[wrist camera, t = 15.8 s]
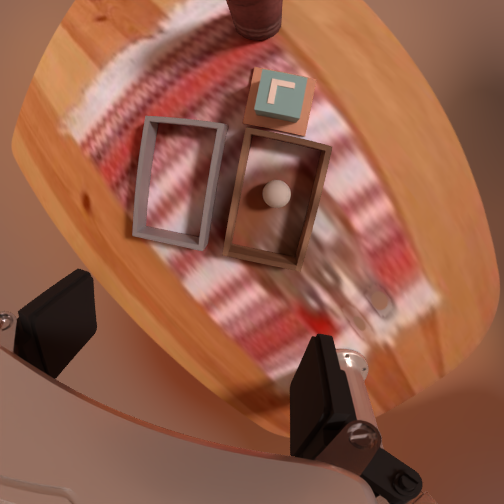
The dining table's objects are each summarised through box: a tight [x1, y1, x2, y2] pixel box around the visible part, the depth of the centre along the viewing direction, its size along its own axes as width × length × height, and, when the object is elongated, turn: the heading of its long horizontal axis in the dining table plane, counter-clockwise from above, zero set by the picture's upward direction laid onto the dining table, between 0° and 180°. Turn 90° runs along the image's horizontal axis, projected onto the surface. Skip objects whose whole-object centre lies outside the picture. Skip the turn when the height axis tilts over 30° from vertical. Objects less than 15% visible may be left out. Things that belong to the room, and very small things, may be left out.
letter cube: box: [254, 69, 308, 123], centre depth 28 cm, size 5×5×5 cm
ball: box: [263, 180, 291, 208], centre depth 34 cm, size 4×4×4 cm
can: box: [226, 0, 282, 40], centre depth 21 cm, size 6×6×14 cm
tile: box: [243, 67, 316, 136], centre depth 31 cm, size 8×8×1 cm
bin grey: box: [132, 116, 228, 251], centre depth 34 cm, size 16×10×3 cm, turn 169°
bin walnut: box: [222, 127, 332, 271], centre depth 34 cm, size 16×10×3 cm, turn 169°
